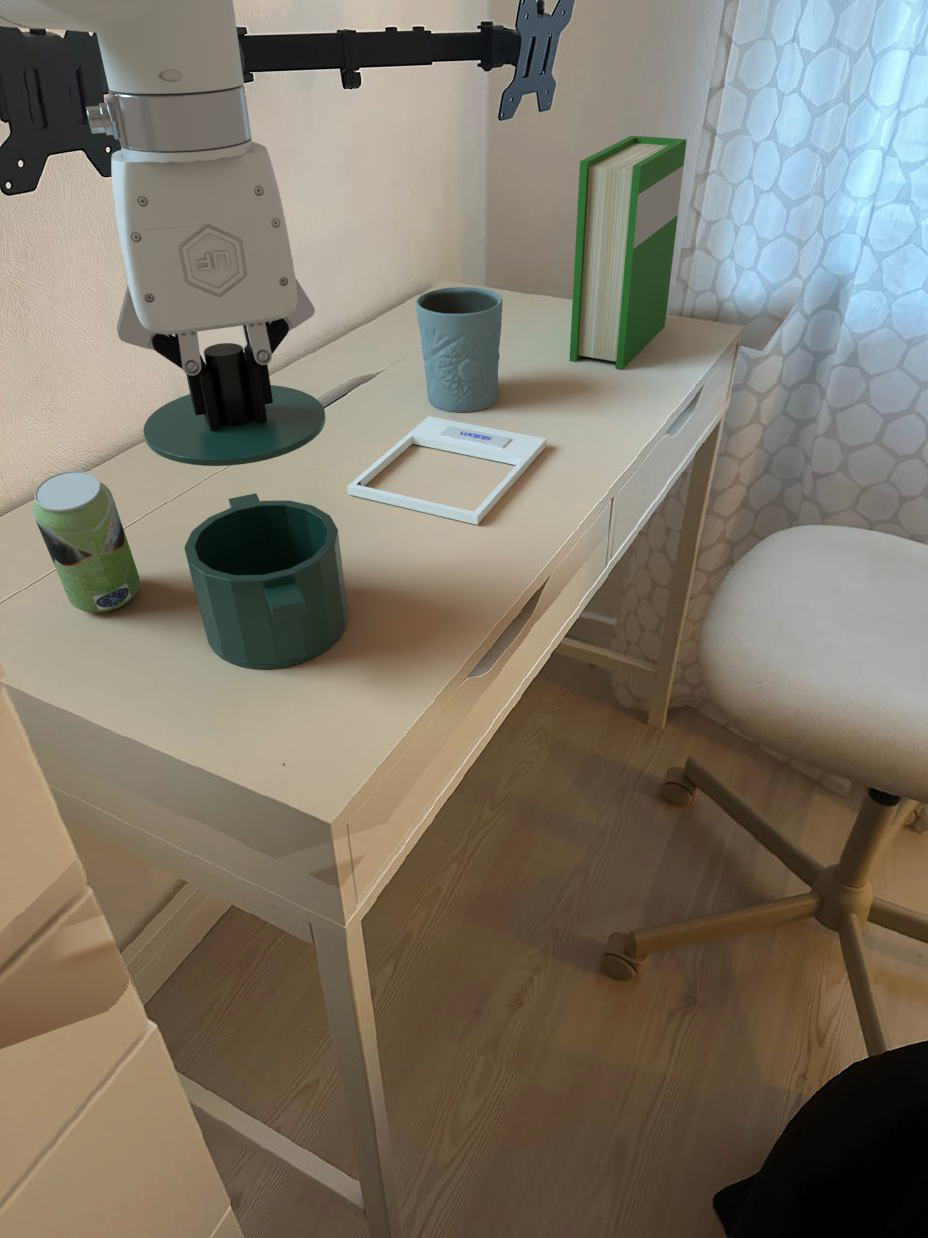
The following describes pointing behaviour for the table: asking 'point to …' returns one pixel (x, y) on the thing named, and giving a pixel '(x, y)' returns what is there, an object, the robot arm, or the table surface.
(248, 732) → the table surface
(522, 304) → the table surface
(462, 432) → the photo frame
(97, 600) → the beverage can
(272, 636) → the pot
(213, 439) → the lid
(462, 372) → the embossed blue cup
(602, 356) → the hardback book
